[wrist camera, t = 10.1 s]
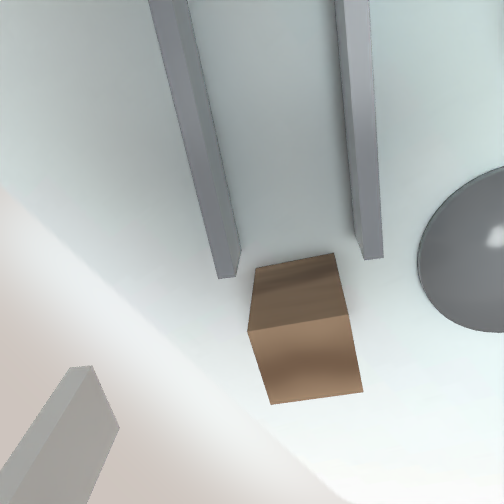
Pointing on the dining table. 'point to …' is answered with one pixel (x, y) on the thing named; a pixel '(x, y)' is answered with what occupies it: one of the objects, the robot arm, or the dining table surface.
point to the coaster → (467, 255)
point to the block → (302, 331)
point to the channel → (205, 140)
